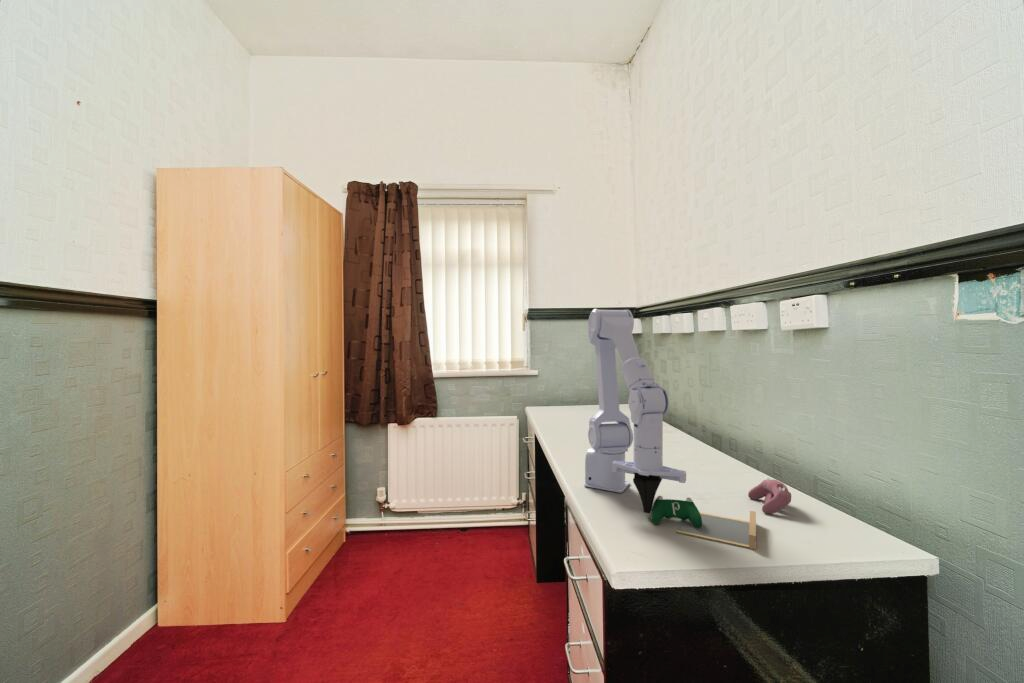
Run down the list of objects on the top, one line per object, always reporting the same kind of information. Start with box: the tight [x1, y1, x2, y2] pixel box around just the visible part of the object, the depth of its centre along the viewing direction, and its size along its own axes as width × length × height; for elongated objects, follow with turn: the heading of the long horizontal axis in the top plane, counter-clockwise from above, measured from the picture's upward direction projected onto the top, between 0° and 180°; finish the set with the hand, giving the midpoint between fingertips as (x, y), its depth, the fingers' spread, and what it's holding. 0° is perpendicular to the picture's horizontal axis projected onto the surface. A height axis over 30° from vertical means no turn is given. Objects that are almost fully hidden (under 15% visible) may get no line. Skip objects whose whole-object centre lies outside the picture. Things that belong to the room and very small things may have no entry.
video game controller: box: [747, 477, 792, 515], centre depth 92 cm, size 10×5×7 cm, turn 169°
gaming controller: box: [650, 495, 702, 528], centre depth 84 cm, size 9×4×6 cm
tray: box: [676, 510, 757, 550], centre depth 81 cm, size 13×12×2 cm
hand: (647, 511), depth 87 cm, fingers closed
